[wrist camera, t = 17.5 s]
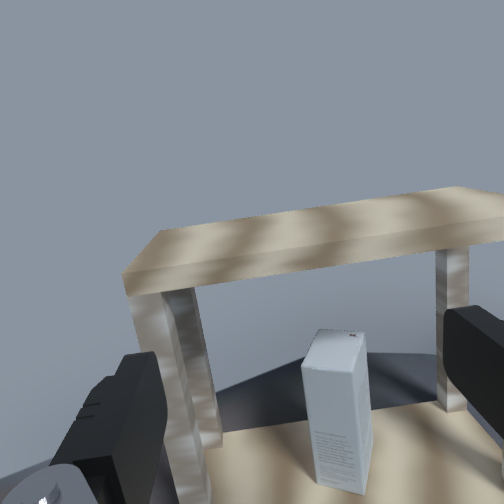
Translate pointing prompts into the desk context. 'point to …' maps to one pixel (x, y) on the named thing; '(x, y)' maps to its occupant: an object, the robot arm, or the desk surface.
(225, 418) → the desk surface
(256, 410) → the desk surface
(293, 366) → the desk surface
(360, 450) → the skincare box
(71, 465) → the robot arm
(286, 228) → the oak counter shelf
